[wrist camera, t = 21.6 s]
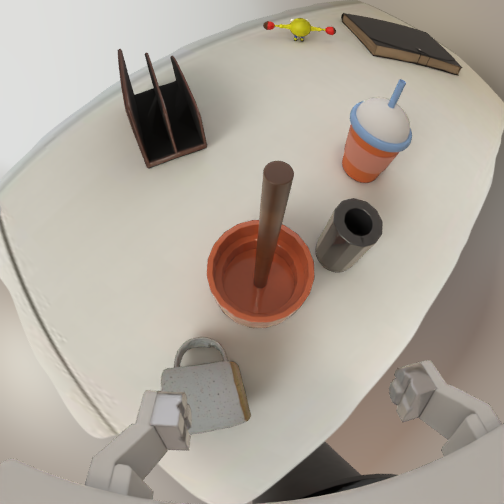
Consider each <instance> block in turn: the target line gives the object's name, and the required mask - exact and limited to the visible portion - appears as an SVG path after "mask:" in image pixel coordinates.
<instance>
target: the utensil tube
mask: <svg viewBox="0 0 504 504" xmlns="http://www.w3.org/2000/svg"><path fill="white" fill-rule="evenodd" d="M381 235H382V220H381V218H380V216H379V214H378V212H377V210H376V209H375V208H373V207H372V206H371V205H370V204H369V203H367V202H366V201H362V200H358V199H354V198H353V199H348V200H344V201H342V202H341V203H340V204H339V205H338V206H337V207H336V209H335V210H334V212H333V214H332V216H331V217H330V219H329V221H328V223H327V225H326V226H325V228H324V230H323V232H322V234H321V235H320V237H319V239H318V241H317V245H316V256H317V258H318V261H319V262H320V263H321V265H322V266H323V267H325V268H326V269H328V270H330V271H333V272H343V271H346V270H347V269H349V268H351V267H352V266H353V265H354V264H355V263H356V262H357V261H358V260H359V259H360V258H361V257H362V256H363V255H364V254H365V253H366V252H367V251H368V250H369V249H370V248H371V247H372V246H373V245H374V244H375V243H376V242H377V241H378V239H379V238H380V236H381Z"/></svg>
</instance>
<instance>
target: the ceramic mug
mask: <svg viewBox="0 0 504 504" xmlns="http://www.w3.org/2000/svg"><path fill="white" fill-rule="evenodd" d="M211 346H212V347H215V348H216V349H217V350H219V351H220V353H221V355H222V356H223V359H224V361H222V362H214V363H209V364H203V365H194V366H185V367H180V363H181V360H182V357H183V355H184V353H185V352H186V351H187V350H188V349H191V348H194V347H208V348H209V347H211ZM161 391H166V392H185V393H186V396H187V403H188V404H189V405H190V408H191V413H192V426H191V428H190V429H189V430H188V431H189V434H190V435H191V434H197V433H204V432H209V431H213V430H218V429H223V428H228V427H233V426H236V425H239V424H242V423H244V422H246V421H248V420H249V419H250V416H251V414H250V410H249V406H248V402H247V398H246V394H245V390H244V386H243V382H242V378H241V374H240V370H239V366H238V365H237V364H236V363H234V362H228V359H227V356H226V353H225V351H224V349H223V348H222V346H221V345H220V344H219V343H218V342H217V341H215V340H213V339H211V338H206V337H198V338H193V339H189V340H187V341H186V342H184V343H183V344H182V346H181V347H180V348H179V350H178V351H177V354H176V357H175V361H174V368H167V369H165V370H164V371H163V373H162V378H161Z"/></svg>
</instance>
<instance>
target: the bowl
mask: <svg viewBox="0 0 504 504" xmlns="http://www.w3.org/2000/svg"><path fill="white" fill-rule="evenodd" d="M258 228H259V220H252V221H248V222H244V223H240V224H237V225H236V226H234V227H233V228H231V229H229V230H228V231H226V232H225V233H224V234H223V235H222V236H221V237H220V238H219V239H218V240H217V242H216V243H215V244H214V246H213V248H212V250H211V253H210V255H209V258H208V264H207V278H208V282H209V286H210V289H211V292H212V294H213V296H214V298H215V300H216V302H217V303H218V305H219V306H220V308H221V309H222V311H223V312H224V313H225V314H226V315H227V316H228V317H229V318H231V319H232V320H233V321H235V322H236V323H238V324H241V325H244V326H247V327H250V328H268V327H271V326H274V325H277V324H280V323H282V322H283V321H285V320H286V319H287V318H289V317H290V316H291V315H293V314H294V313H295V312H296V311H297V310H298V309H299V308H300V307H301V305H302V304H303V302H304V301H305V300H306V298H307V297H308V295H309V294H310V291H311V288H312V284H313V281H314V262H313V259H312V256H311V254H310V251H309V248H308V247H307V245H306V244H305V243H304V241H303V240H302V239H301V238H300V236H299V235H298V234H297V233H295V232H294V231H292V230H291V229H289V228H288V227H286V226H284V225H282V226H281V230H280V234H279V238H278V242H277V245H276V249H275V253H274V257H273V261H272V265H271V269H270V273H269V277H268V280H267V284H266V286H265V287H264V288H257V287H255V285H254V272H255V261H256V250H257V239H258Z"/></svg>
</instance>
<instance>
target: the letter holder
mask: <svg viewBox="0 0 504 504" xmlns="http://www.w3.org/2000/svg"><path fill="white" fill-rule="evenodd" d="M145 57H146V61H147V65H148V68H149V72H150V76H151V80H152V83H153V87H154V88H153V89H150V90H148V91H145V92H142V93H139V94H136V95H134V93H133V89H132V86H131V82H130V79H129V75H128V73H127V68H126V64H125V61H124V57H123V53H122V50H121V49H119V50H118V62H119V71H120V80H121V88H122V93H123V99H124V105H125V109H126V113H127V116H128V118H129V121H130V124H131V127H132V130H133V133H134V135H135V138H136V140H137V143H138V146H139V149H140V151H141V153H142V156H143V158H144V161H145V164H146V166H147V168H151V167H153V166H156V165H158V164H161V163H164V162H166V161H169V160H172V159H175V158H178V157H180V156H183V155H186V154H189V153H192V152H195V151H198V150H201V149H204V148H206V147H207V143H206V138H205V134H204V129H203V125H202V120H201V116H200V112H199V109H198V107H197V104H196V102H195V99H194V97H193V95H192V93H191V91H190V88H189V86H188V84H187V82H186V80H185V78H184V75H183V73H182V71H181V69H180V67H179V65H178V63H177V61H176V59H175V58H174V56H171V61H172V65H173V69H174V73H175V77H176V81H174V82H172V83H169V84H166V85H162V86H158V83H157V79H156V76H155V73H154V70H153V67H152V64H151V61H150V58H149V55H148V53H146V54H145Z"/></svg>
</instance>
